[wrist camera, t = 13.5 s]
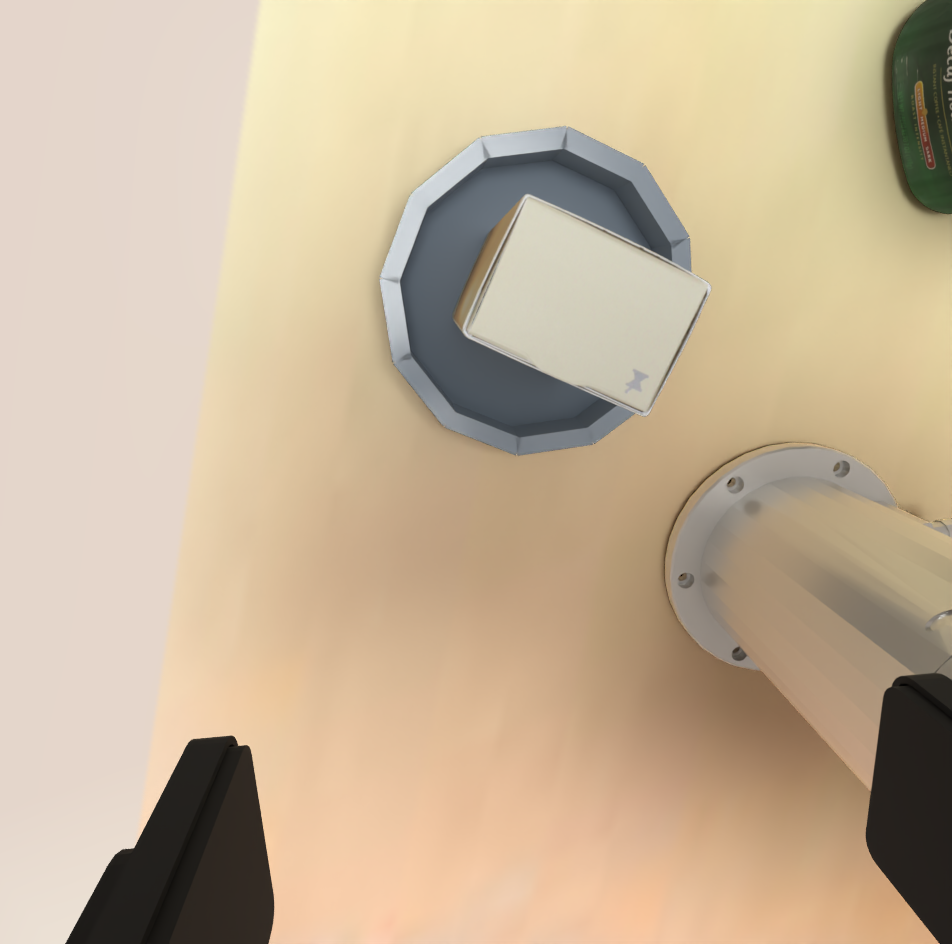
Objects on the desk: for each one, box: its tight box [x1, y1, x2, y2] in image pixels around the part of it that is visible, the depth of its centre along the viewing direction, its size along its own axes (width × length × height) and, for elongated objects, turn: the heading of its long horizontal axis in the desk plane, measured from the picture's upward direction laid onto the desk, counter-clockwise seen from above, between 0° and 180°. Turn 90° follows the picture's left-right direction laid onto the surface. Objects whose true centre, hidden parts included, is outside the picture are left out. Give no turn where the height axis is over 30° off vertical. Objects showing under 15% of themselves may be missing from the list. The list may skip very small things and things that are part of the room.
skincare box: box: [452, 194, 711, 417], centre depth 25 cm, size 6×4×12 cm
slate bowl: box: [379, 126, 691, 455], centre depth 30 cm, size 13×13×4 cm
